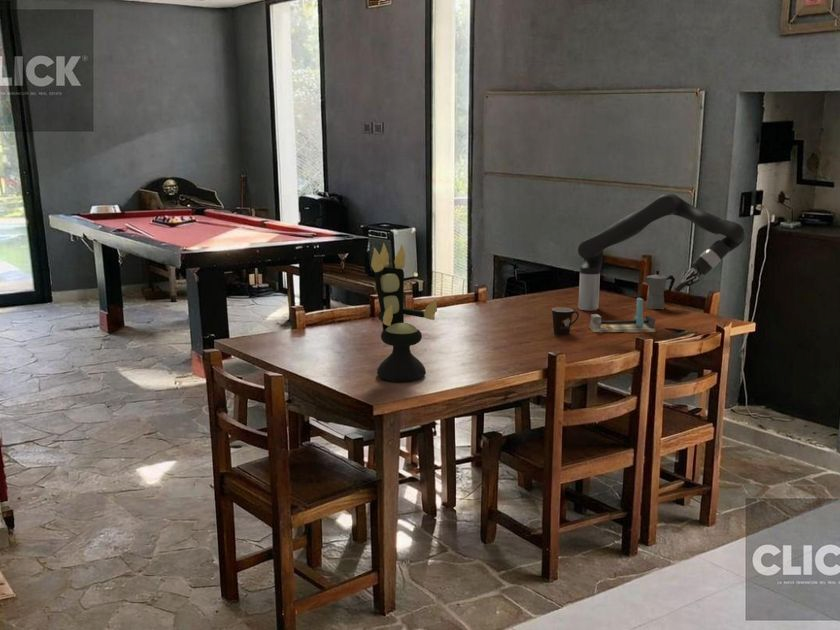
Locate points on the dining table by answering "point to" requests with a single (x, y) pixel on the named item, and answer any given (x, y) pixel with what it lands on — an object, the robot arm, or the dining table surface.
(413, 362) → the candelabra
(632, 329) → the cord board
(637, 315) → the teal upright slider
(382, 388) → the dining table surface
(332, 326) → the dining table surface
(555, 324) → the coffee mug
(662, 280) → the coffeepot
